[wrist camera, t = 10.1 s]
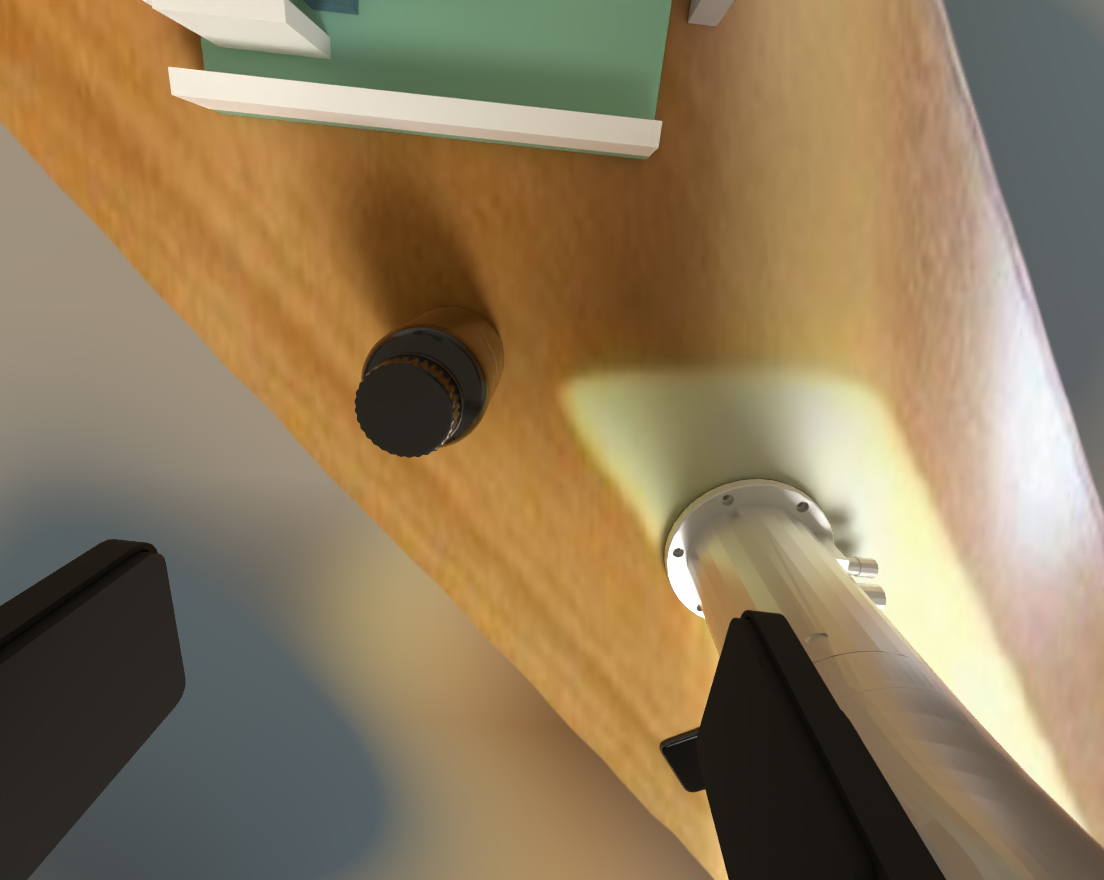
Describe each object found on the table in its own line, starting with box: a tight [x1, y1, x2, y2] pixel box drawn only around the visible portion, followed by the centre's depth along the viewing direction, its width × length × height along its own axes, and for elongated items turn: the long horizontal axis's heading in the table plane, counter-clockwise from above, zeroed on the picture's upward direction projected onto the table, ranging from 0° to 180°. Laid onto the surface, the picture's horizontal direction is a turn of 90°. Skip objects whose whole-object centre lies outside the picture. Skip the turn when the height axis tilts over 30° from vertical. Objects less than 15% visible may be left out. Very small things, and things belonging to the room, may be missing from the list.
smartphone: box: [660, 728, 705, 792], centre depth 48 cm, size 7×1×15 cm
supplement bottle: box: [355, 306, 504, 458], centre depth 30 cm, size 7×7×12 cm
